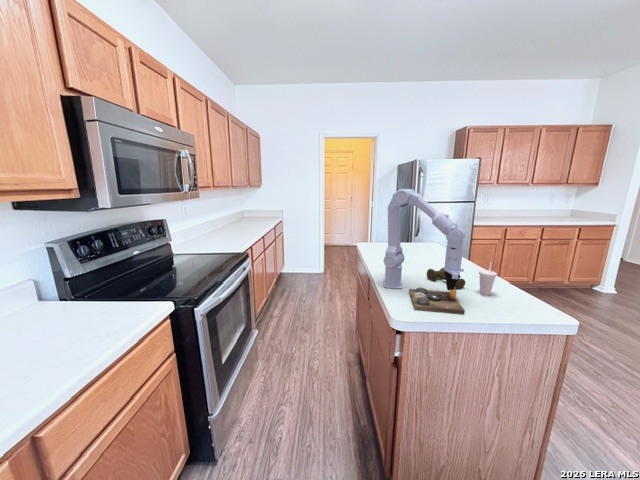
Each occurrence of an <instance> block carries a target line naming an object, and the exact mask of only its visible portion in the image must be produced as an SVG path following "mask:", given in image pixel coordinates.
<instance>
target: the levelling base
mask: <svg viewBox="0 0 640 480" xmlns="http://www.w3.org/2000/svg"><path fill="white" fill-rule="evenodd" d="M408 293H409V294H408V295H409V297H410V299H411V300H410V301H411V303H412V305H413V309H414V311H422V312H431V313H432V312H433V313H445V314H455V315H465V312H466V311H465V309H464V308H463V306H462V305H461V303H460V302H459V300H458V299H457V298H456V300H455V301H452V300H449V299H445V298H441V300H439V301H435V300H431V299H429V298H428V293H438V294H440V295H447V296H449V291H443V290H432V289H431V290H429V289H426V288H424V287H417V288H416V287H415V288H409V289H408Z"/></svg>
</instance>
